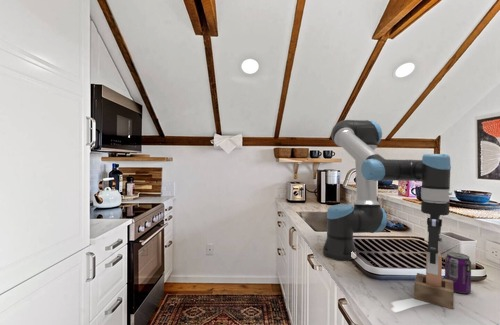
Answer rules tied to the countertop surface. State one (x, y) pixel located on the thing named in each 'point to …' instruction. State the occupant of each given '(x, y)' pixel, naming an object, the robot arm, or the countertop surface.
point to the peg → (434, 278)
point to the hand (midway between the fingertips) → (433, 266)
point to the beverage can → (458, 271)
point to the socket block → (434, 292)
